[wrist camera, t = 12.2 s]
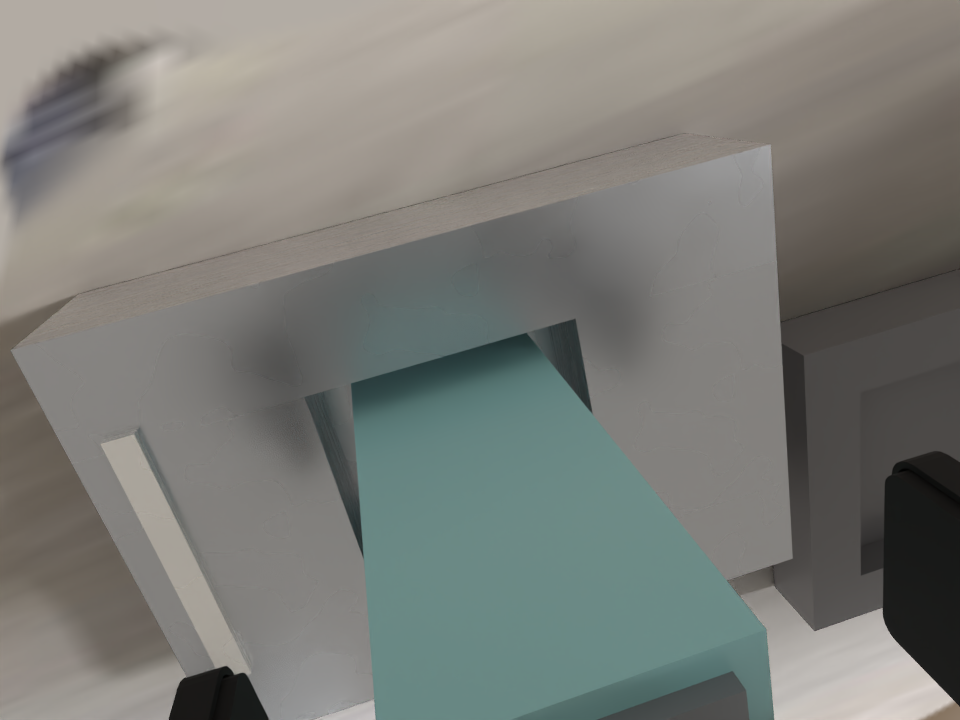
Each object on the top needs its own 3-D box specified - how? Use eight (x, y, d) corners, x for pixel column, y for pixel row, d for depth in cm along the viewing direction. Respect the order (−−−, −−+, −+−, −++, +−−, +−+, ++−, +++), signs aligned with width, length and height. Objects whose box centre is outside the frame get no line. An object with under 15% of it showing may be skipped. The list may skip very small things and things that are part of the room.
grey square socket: (1051, 241, 20) (1126, 257, 18) (1023, 502, 23) (1082, 537, 21) (757, 329, 19) (803, 355, 17) (774, 586, 22) (814, 631, 20)
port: (684, 133, 16) (777, 145, 13) (719, 484, 20) (797, 563, 17) (77, 294, 15) (5, 354, 12) (243, 637, 19) (224, 756, 16)
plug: (518, 322, 16) (780, 647, 7) (550, 466, 18) (799, 890, 8) (350, 372, 16) (381, 790, 6) (398, 514, 17) (480, 1016, 8)
